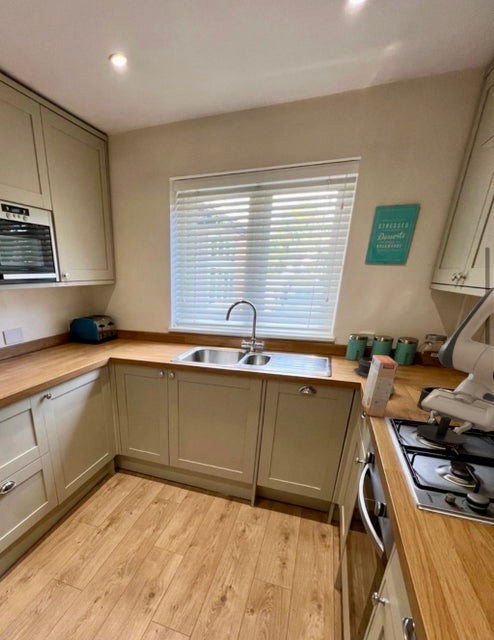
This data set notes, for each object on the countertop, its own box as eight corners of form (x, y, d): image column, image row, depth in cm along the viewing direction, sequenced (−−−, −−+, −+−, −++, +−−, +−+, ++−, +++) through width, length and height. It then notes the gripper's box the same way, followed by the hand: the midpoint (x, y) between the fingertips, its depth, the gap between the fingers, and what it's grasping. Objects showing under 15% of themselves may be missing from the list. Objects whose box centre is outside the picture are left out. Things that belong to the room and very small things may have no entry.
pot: (463, 413, 129) (470, 393, 126) (444, 423, 120) (451, 401, 117) (427, 403, 139) (433, 384, 136) (407, 411, 129) (413, 391, 126)
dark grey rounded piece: (394, 384, 164) (398, 367, 161) (353, 378, 172) (356, 362, 169) (390, 372, 185) (394, 358, 182) (353, 368, 193) (356, 354, 190)
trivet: (464, 441, 106) (465, 439, 106) (452, 448, 101) (452, 447, 101) (429, 429, 114) (430, 427, 114) (416, 436, 109) (416, 434, 109)
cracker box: (384, 418, 123) (399, 363, 115) (366, 415, 124) (379, 361, 117) (377, 405, 135) (389, 355, 128) (361, 403, 137) (372, 353, 130)
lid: (472, 440, 106) (479, 421, 103) (456, 450, 99) (463, 430, 97) (426, 425, 116) (431, 407, 114) (408, 433, 109) (414, 415, 107)
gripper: (434, 381, 114) (408, 411, 113) (507, 401, 96) (476, 436, 96) (438, 392, 117) (413, 421, 117) (510, 413, 99) (480, 447, 99)
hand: (442, 428), depth 106 cm, fingers open, 6 cm apart
